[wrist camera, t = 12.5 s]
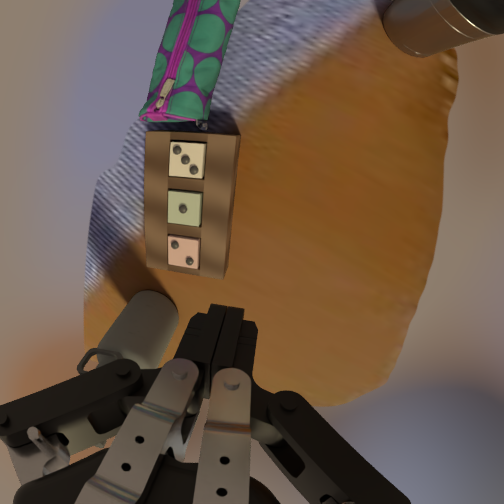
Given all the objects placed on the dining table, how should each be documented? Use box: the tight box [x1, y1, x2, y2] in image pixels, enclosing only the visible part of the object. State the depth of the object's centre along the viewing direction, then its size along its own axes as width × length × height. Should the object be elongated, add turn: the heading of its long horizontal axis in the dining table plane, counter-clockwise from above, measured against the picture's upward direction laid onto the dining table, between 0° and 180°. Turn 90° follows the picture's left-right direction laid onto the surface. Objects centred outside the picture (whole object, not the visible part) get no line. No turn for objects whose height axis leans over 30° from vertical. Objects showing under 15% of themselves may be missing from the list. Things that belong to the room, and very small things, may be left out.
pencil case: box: [139, 0, 240, 130], centre depth 27 cm, size 21×9×10 cm, turn 167°
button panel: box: [144, 130, 241, 280], centre depth 39 cm, size 20×12×4 cm, turn 173°
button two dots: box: [168, 234, 201, 269], centre depth 41 cm, size 4×4×3 cm
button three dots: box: [169, 141, 207, 178], centre depth 35 cm, size 4×4×3 cm
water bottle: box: [77, 290, 179, 448], centre depth 38 cm, size 10×10×28 cm
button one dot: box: [168, 189, 204, 227], centre depth 38 cm, size 4×4×3 cm
